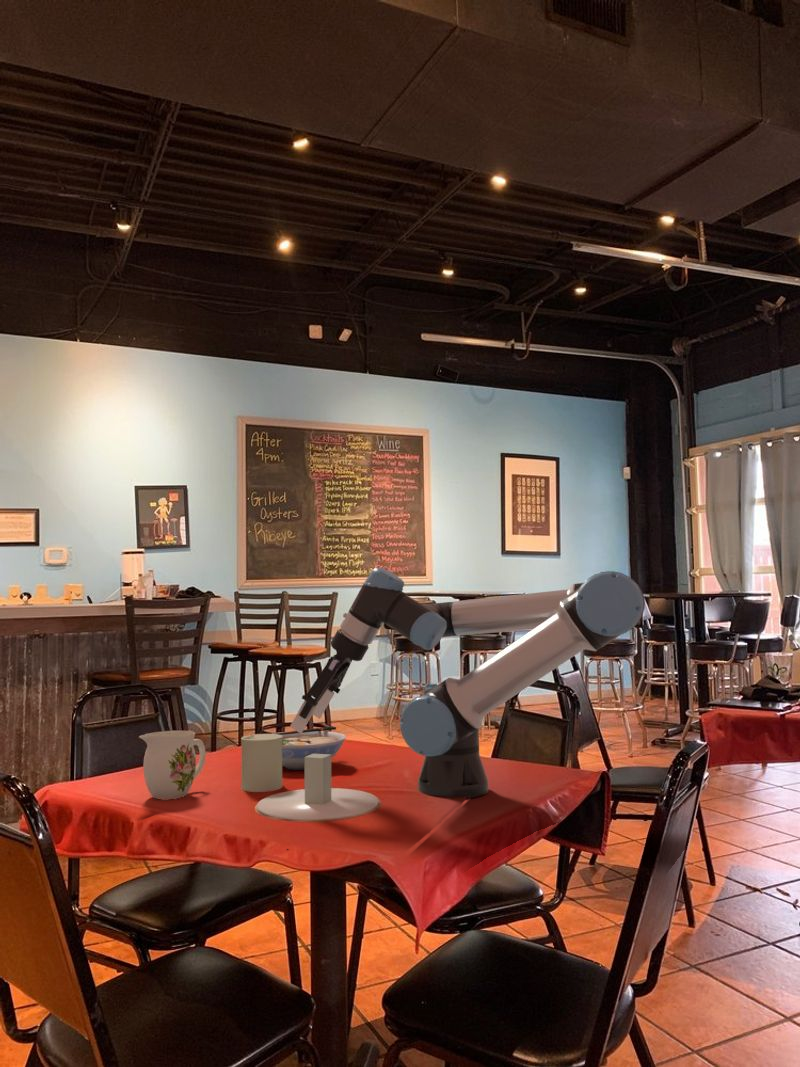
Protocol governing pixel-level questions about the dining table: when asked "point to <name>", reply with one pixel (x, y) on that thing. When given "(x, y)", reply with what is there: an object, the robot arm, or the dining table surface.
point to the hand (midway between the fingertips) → (305, 722)
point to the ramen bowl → (308, 745)
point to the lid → (317, 797)
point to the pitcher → (171, 763)
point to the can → (261, 762)
